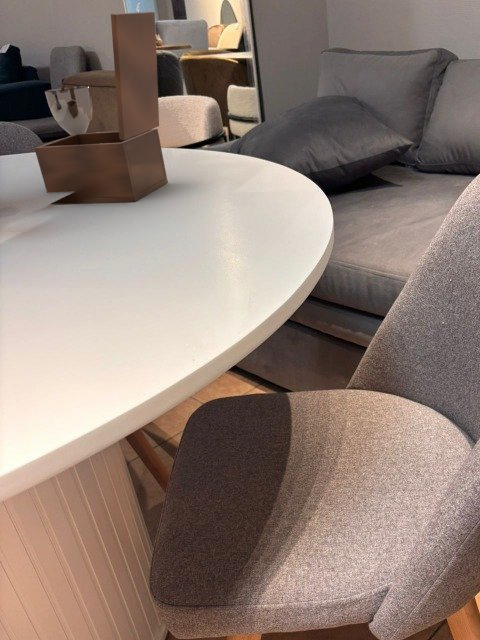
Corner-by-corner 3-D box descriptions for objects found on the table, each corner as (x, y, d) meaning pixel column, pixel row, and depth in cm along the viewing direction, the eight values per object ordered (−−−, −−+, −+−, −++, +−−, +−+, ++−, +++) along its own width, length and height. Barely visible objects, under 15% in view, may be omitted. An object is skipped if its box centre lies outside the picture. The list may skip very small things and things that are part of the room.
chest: (50, 204, 105) (34, 148, 101) (89, 185, 116) (76, 133, 111) (135, 201, 101) (122, 143, 97) (167, 182, 112) (157, 128, 107)
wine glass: (90, 166, 132) (71, 86, 124) (116, 168, 127) (97, 85, 120) (58, 175, 126) (36, 92, 119) (84, 177, 122) (62, 91, 114)
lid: (110, 13, 88) (115, 14, 87) (150, 11, 98) (155, 12, 98) (119, 139, 97) (124, 140, 96) (154, 125, 107) (159, 126, 107)
